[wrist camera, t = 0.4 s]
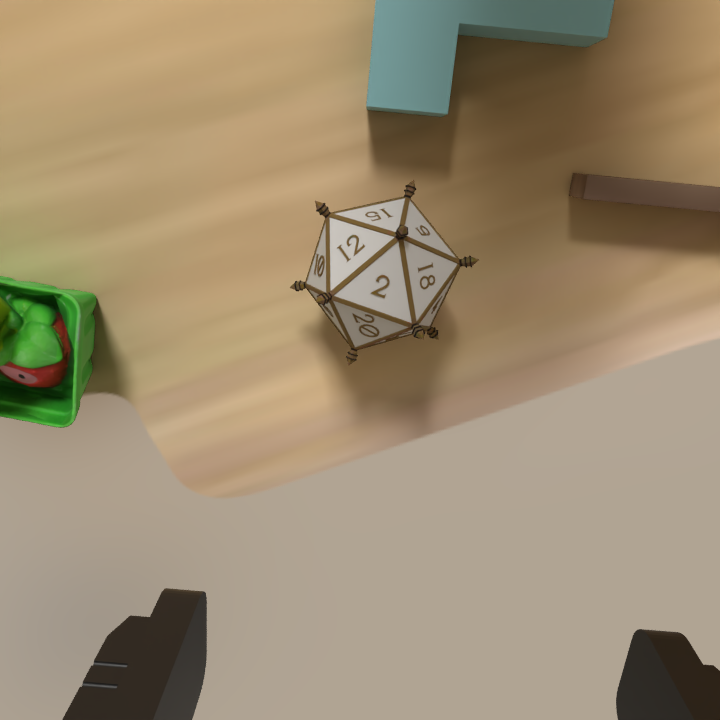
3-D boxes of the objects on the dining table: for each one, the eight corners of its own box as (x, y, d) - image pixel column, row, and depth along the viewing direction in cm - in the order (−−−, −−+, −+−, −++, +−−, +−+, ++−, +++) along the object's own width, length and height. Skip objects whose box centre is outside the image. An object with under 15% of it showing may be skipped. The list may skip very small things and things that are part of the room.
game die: (408, 265, 40) (487, 377, 34) (278, 298, 38) (338, 424, 32) (420, 132, 34) (521, 241, 27) (264, 162, 31) (336, 288, 25)
